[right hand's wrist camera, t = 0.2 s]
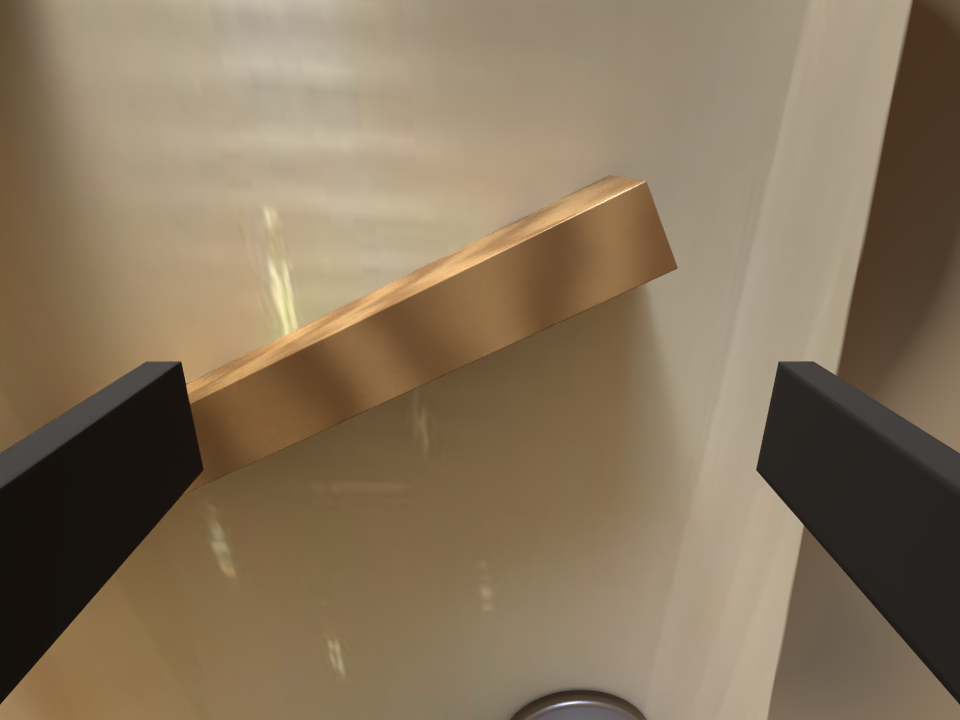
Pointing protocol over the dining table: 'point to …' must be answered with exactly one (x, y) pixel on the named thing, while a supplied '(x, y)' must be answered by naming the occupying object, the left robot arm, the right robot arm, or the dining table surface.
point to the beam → (430, 323)
